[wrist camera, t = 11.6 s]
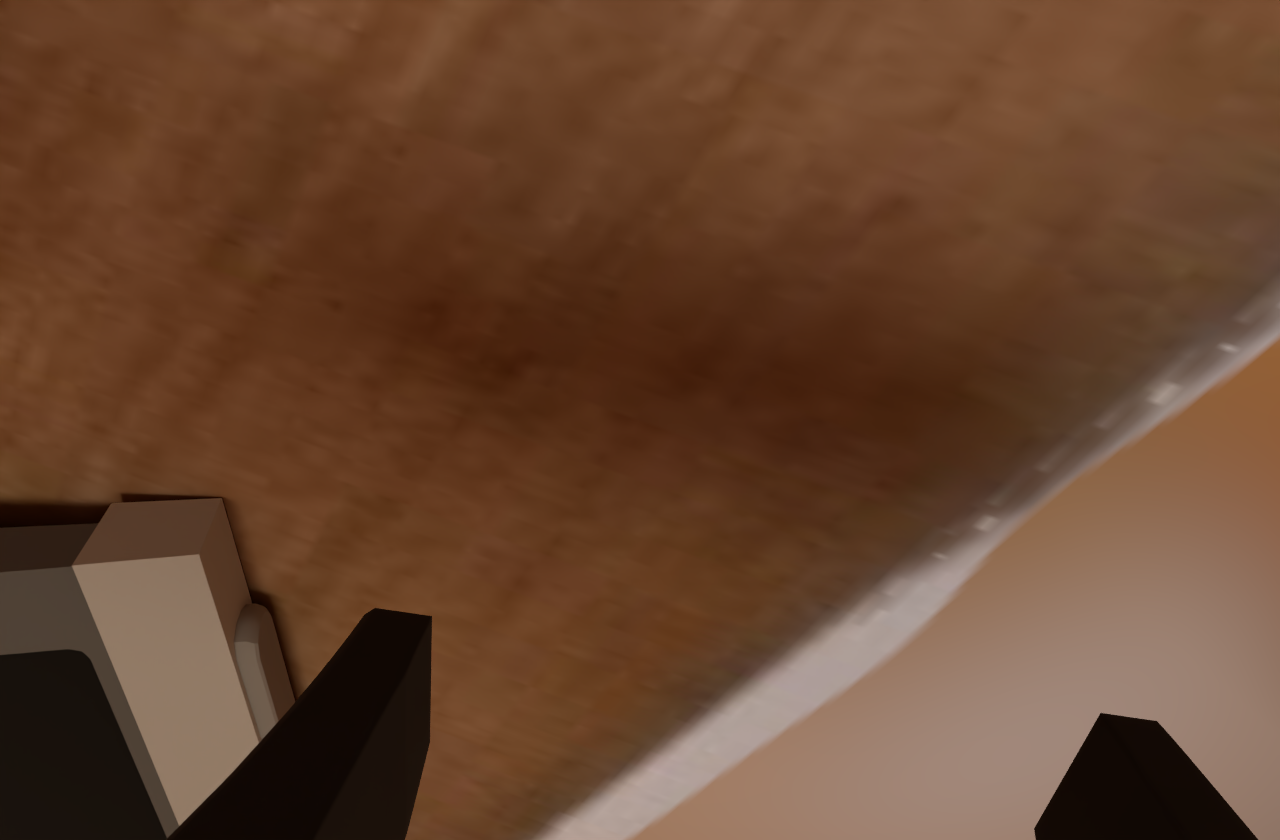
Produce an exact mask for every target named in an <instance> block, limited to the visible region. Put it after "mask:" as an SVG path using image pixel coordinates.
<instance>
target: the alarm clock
mask: <svg viewBox="0 0 1280 840" xmlns="http://www.w3.org/2000/svg"><path fill="white" fill-rule="evenodd" d="M294 703H295V699H294V695H293V692H292V688H291V685H290V681H289V677H288V674H287V670H286V667H285V663H284V659H283V656H282V652H281V649H280V645H279V641H278V638H277V634H276V631H275V627H274V623H273V620H272V616H271V615H270V613H269V611H268V610H267V609H266V607H264V606H262V605H259V604H252V601H251V597H250V594H249V590H248V587H247V583H246V580H245V576H244V573H243V569H242V566H241V563H240V559H239V556H238V552H237V549H236V545H235V542H234V538H233V535H232V531H231V528H230V525H229V521H228V518H227V514H226V511H225V507H224V504H223V500H222V498H212V499H190V500H168V501H146V502H124V503H111V505H110V506H109V508H108V510H107V511H106V513H105V514H104V516H103V517H102V519H101V521H100V522H99V523H95V524H73V525H51V526H29V527H7V528H0V840H166V839H167V838H168V837H169V836H170V835H171V834H172V833H173V832H174V831H175V830H176V829H177V828H178V827H179V826H180V825H181V824H182V823H183V822H184V821H185V820H186V819H187V818H188V817H189V816H190V815H191V814H192V813H193V812H194V811H195V810H196V809H197V808H198V807H199V806H200V805H201V804H202V803H203V802H204V801H205V800H206V799H207V798H208V797H209V796H210V795H211V794H212V793H213V792H214V791H215V790H216V789H217V788H218V787H219V786H220V785H221V784H222V783H223V782H224V781H225V779H226V778H227V777H228V776H229V775H230V774H231V773H232V772H233V771H234V770H235V769H236V768H237V767H238V766H239V765H240V763H241V762H242V761H243V760H244V759H245V758H246V757H247V756H248V755H249V753H250V752H251V751H252V750H253V749H254V748H255V747H256V746H257V745H258V743H259V742H260V741H261V740H262V739H263V738H264V737H265V736H266V735H267V733H268V732H269V731H270V730H271V729H272V728H273V727H274V726H275V725H276V723H277V722H278V721H279V720H280V719H281V718H282V717H283V716H284V715H285V713H286V712H287V711H288V710H289V709H290V708H291V707H292V705H293V704H294Z"/></svg>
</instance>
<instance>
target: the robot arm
mask: <svg viewBox="0 0 1280 840" xmlns="http://www.w3.org/2000/svg"><path fill="white" fill-rule="evenodd" d="M431 636H432V616H426V615H419V614H412V613H406V612H399V611H392V610H385V609H378V608H375V609H373V610H371V611H370V612H368V613H366V614H365V615H364V616H363V617H362V619H361V620H360V622H359V623H358V624H357V626H356V627H355V628H354V630H353V631H352V632H351V634H350V635H349V636H348V638H347V639H346V640H345V642H344V643H343V644H342V645H341V647H340V648H339V649H338V651H337V652H336V653H335V655H334V656H333V657H332V658H331V660H330V661H329V662H328V663H327V665H326V666H325V667H324V668H323V669H322V671H321V672H320V673H319V674H318V676H317V677H316V678H315V679H314V680H313V682H312V683H311V684H310V685H309V686H308V688H307V689H306V690H305V691H304V692H303V694H302V695H301V696H300V697H299V698H298V699H297V701H296V702H295V703H294V704H293V705H292V707H291V708H290V709H289V710H288V711H287V712H286V713H285V715H284V716H283V717H282V718H281V719H280V720H279V721H278V722H277V723H276V725H275V726H274V727H273V728H272V729H271V730H270V731H269V732H268V733H267V735H266V736H265V737H264V738H263V739H262V740H261V741H260V742H259V743H258V745H257V746H256V747H255V748H254V749H253V750H252V751H251V752H250V753H249V755H248V756H247V757H246V758H245V759H244V760H243V761H242V762H241V763H240V765H239V766H238V767H237V768H236V769H235V770H234V771H233V772H232V773H231V774H230V775H229V776H228V777H227V778H226V779H225V781H224V782H223V783H222V784H221V785H220V786H219V787H218V788H217V789H216V790H215V791H214V792H213V793H212V794H211V795H210V796H209V797H208V798H207V799H206V800H205V801H204V802H203V803H202V804H201V805H200V806H199V807H198V808H197V809H196V810H195V811H194V812H193V813H192V814H191V815H190V816H189V817H188V818H187V819H186V820H185V821H184V822H183V823H182V824H181V825H180V826H179V827H178V828H177V829H176V830H175V831H174V832H173V833H172V834H171V835H170V836H169V837H168V838H167V839H166V840H405V837H406V834H407V830H408V826H409V822H410V819H411V815H412V811H413V807H414V803H415V799H416V795H417V792H418V787H419V783H420V779H421V775H422V771H423V767H424V763H425V759H426V755H427V751H428V747H429V743H430V699H431ZM1034 830H1035V836H1036V840H1258V839H1257V838H1256V837H1255V835H1254V834H1253V833H1252V832H1251V831H1250V829H1249V828H1248V827H1247V826H1246V825H1245V823H1244V822H1243V821H1242V820H1241V819H1240V818H1239V816H1238V815H1237V814H1236V813H1235V812H1234V810H1233V809H1232V808H1231V807H1230V806H1229V804H1228V803H1227V802H1226V801H1225V800H1224V799H1223V797H1222V796H1221V795H1220V794H1219V793H1218V791H1217V790H1216V789H1215V788H1214V787H1213V785H1212V784H1211V783H1210V782H1209V781H1208V779H1207V778H1206V777H1205V776H1204V775H1203V774H1202V772H1201V771H1200V770H1199V769H1198V768H1197V766H1195V764H1194V763H1193V762H1192V761H1191V759H1190V758H1189V757H1188V756H1187V755H1186V754H1185V752H1184V751H1183V750H1182V749H1181V748H1180V747H1179V745H1178V744H1177V743H1176V742H1175V741H1174V740H1173V739H1172V738H1171V736H1170V735H1169V734H1168V733H1167V732H1166V731H1165V730H1164V728H1163V727H1162V726H1161V725H1160V724H1159V723H1158V722H1157V721H1152V720H1145V719H1138V718H1130V717H1124V716H1117V715H1111V714H1103V713H1100V715H1099V717H1098V719H1097V721H1096V722H1095V724H1094V726H1093V727H1092V729H1091V731H1090V733H1089V734H1088V736H1087V738H1086V740H1085V741H1084V743H1083V745H1082V747H1081V748H1080V750H1079V752H1078V753H1077V755H1076V757H1075V759H1074V760H1073V762H1072V764H1071V766H1070V767H1069V769H1068V771H1067V773H1066V775H1065V776H1064V778H1063V779H1062V782H1061V783H1060V785H1059V787H1058V788H1057V790H1056V792H1055V794H1054V795H1053V797H1052V799H1051V800H1050V802H1049V804H1048V806H1047V807H1046V809H1045V811H1044V813H1043V814H1042V816H1041V818H1040V820H1039V821H1038V823H1037V825H1036V827H1035V828H1034Z"/></svg>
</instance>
